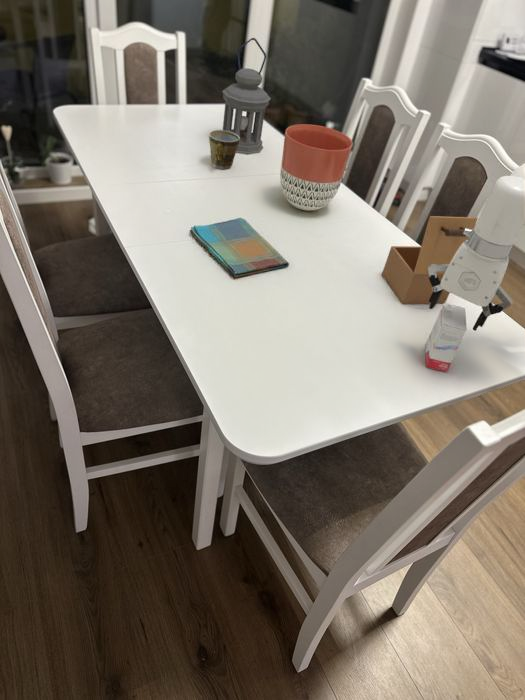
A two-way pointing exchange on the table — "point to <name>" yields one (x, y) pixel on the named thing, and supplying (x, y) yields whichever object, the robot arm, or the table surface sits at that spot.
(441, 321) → the ink box
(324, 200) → the planter
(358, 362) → the table surface
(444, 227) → the flap
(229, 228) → the dish towel
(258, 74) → the lantern
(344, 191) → the table surface
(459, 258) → the robot arm
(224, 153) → the ceramic cup
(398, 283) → the carton
